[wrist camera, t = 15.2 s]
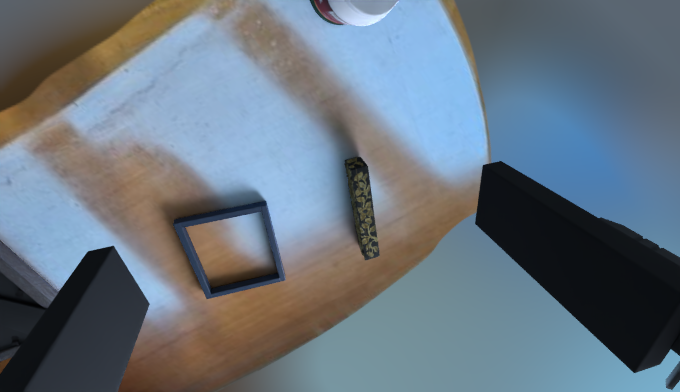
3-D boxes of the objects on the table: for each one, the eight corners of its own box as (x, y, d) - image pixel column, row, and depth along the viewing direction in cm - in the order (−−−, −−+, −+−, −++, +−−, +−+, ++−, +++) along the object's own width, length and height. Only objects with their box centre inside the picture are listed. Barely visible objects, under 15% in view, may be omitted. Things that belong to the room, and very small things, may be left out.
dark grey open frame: (174, 218, 40) (172, 224, 39) (266, 200, 42) (266, 205, 41) (207, 293, 47) (206, 299, 46) (285, 274, 49) (285, 280, 48)
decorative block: (343, 159, 42) (350, 170, 39) (360, 155, 42) (368, 165, 39) (358, 247, 50) (365, 262, 47) (373, 243, 50) (380, 257, 47)
